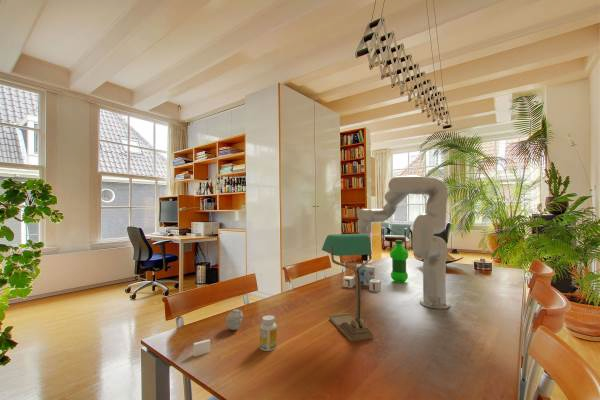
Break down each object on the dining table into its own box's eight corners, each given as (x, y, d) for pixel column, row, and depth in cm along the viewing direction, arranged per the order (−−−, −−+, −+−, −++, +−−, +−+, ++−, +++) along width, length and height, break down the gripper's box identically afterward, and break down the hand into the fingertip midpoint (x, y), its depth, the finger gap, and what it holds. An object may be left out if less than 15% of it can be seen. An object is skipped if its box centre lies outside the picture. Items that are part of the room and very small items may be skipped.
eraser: (193, 355, 86) (193, 343, 86) (209, 350, 89) (209, 338, 89) (194, 356, 85) (194, 344, 85) (210, 352, 88) (210, 340, 88)
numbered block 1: (378, 291, 150) (378, 282, 150) (369, 290, 152) (369, 281, 153) (380, 289, 155) (380, 280, 155) (371, 288, 157) (371, 278, 157)
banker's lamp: (340, 343, 94) (340, 238, 94) (319, 318, 114) (319, 232, 115) (382, 337, 98) (381, 236, 99) (355, 314, 118) (354, 231, 119)
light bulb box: (355, 284, 164) (355, 266, 164) (356, 281, 170) (356, 263, 170) (374, 286, 161) (374, 267, 161) (374, 283, 167) (374, 265, 167)
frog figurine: (246, 327, 106) (246, 308, 106) (233, 334, 100) (233, 314, 100) (234, 324, 109) (234, 306, 109) (221, 330, 103) (221, 311, 103)
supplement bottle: (259, 352, 88) (259, 321, 88) (260, 343, 93) (260, 314, 93) (276, 351, 88) (276, 320, 89) (276, 343, 94) (276, 314, 94)
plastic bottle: (396, 278, 177) (395, 239, 177) (411, 282, 169) (411, 240, 169) (387, 281, 170) (386, 240, 171) (402, 285, 162) (402, 242, 163)
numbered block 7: (351, 287, 157) (351, 279, 157) (343, 286, 160) (343, 277, 160) (354, 285, 162) (354, 277, 162) (346, 284, 164) (346, 276, 164)
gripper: (367, 231, 158) (367, 263, 158) (374, 229, 171) (374, 259, 171) (354, 230, 162) (354, 262, 161) (362, 228, 175) (361, 257, 174)
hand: (364, 260), depth 166 cm, fingers closed
